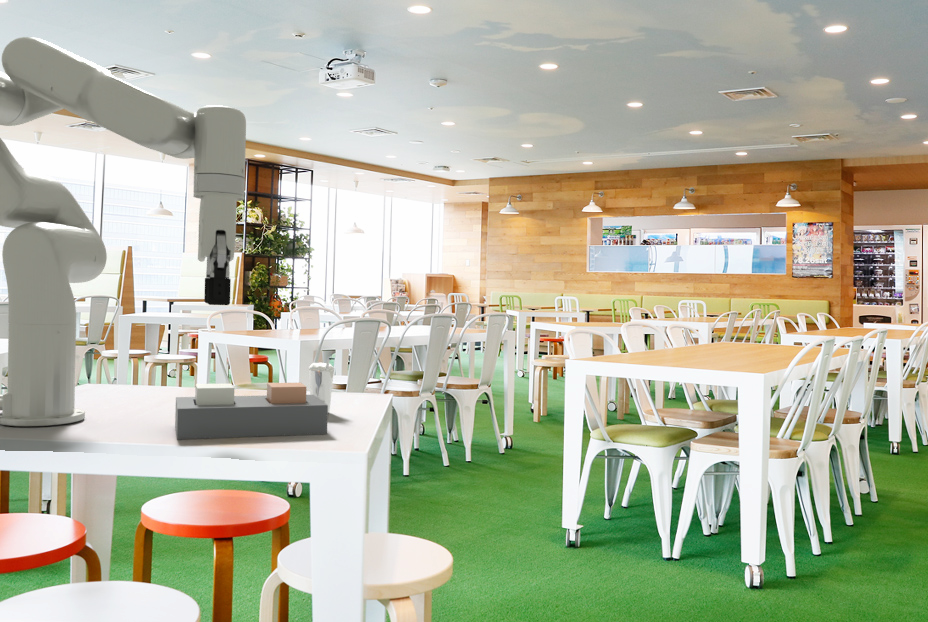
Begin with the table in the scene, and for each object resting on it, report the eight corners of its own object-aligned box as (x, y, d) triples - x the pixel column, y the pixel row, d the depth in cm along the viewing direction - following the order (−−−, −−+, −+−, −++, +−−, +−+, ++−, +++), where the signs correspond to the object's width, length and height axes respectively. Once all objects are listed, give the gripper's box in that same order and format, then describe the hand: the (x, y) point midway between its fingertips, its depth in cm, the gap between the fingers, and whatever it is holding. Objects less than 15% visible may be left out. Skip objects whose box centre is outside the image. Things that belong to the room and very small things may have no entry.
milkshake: (315, 416, 140) (316, 359, 139) (303, 411, 144) (305, 356, 144) (338, 414, 142) (340, 359, 142) (326, 410, 146) (328, 356, 146)
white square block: (196, 414, 119) (197, 388, 119) (195, 409, 124) (195, 383, 124) (233, 413, 121) (234, 387, 121) (230, 408, 126) (231, 383, 126)
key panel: (177, 439, 115) (177, 408, 115) (175, 425, 126) (175, 397, 126) (327, 433, 123) (327, 405, 123) (312, 420, 134) (313, 394, 134)
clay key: (271, 412, 123) (271, 387, 123) (266, 407, 128) (267, 383, 128) (305, 411, 125) (306, 386, 125) (300, 406, 130) (300, 382, 130)
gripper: (191, 193, 129) (188, 302, 129) (196, 180, 112) (193, 305, 113) (238, 196, 131) (236, 303, 132) (250, 184, 115) (248, 306, 116)
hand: (216, 303), depth 122 cm, fingers open, 7 cm apart
